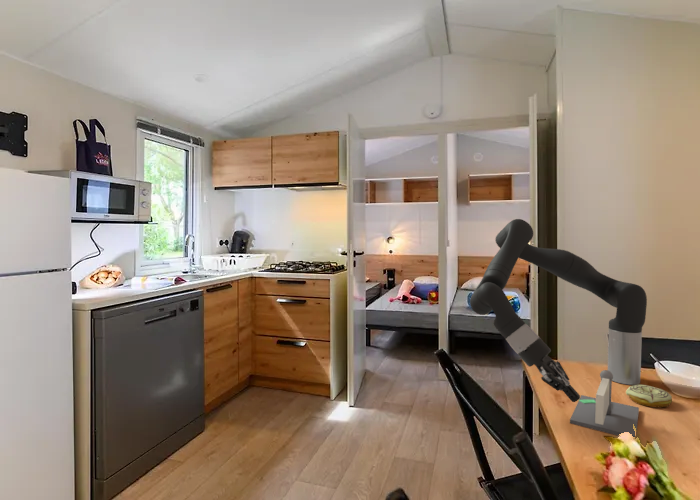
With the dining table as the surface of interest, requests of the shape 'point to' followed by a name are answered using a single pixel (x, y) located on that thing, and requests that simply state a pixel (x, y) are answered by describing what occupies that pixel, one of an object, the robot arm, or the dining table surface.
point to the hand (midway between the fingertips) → (577, 399)
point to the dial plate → (613, 422)
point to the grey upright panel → (603, 397)
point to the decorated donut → (649, 396)
